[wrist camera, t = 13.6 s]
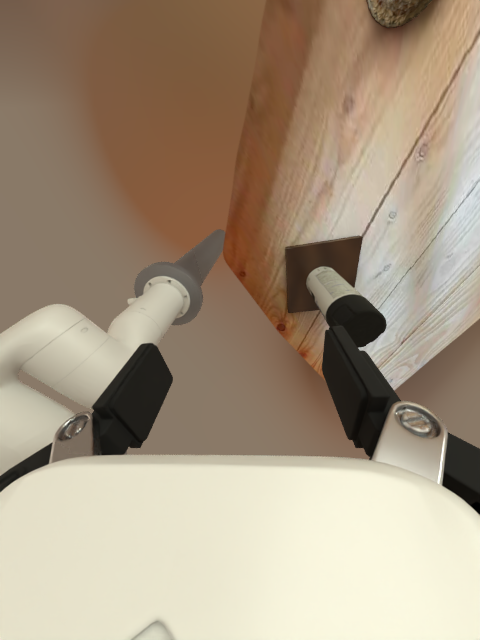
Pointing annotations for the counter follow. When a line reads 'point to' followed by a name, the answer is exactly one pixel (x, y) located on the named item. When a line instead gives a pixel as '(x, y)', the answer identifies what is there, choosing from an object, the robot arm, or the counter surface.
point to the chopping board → (314, 255)
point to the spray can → (345, 306)
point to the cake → (396, 11)
